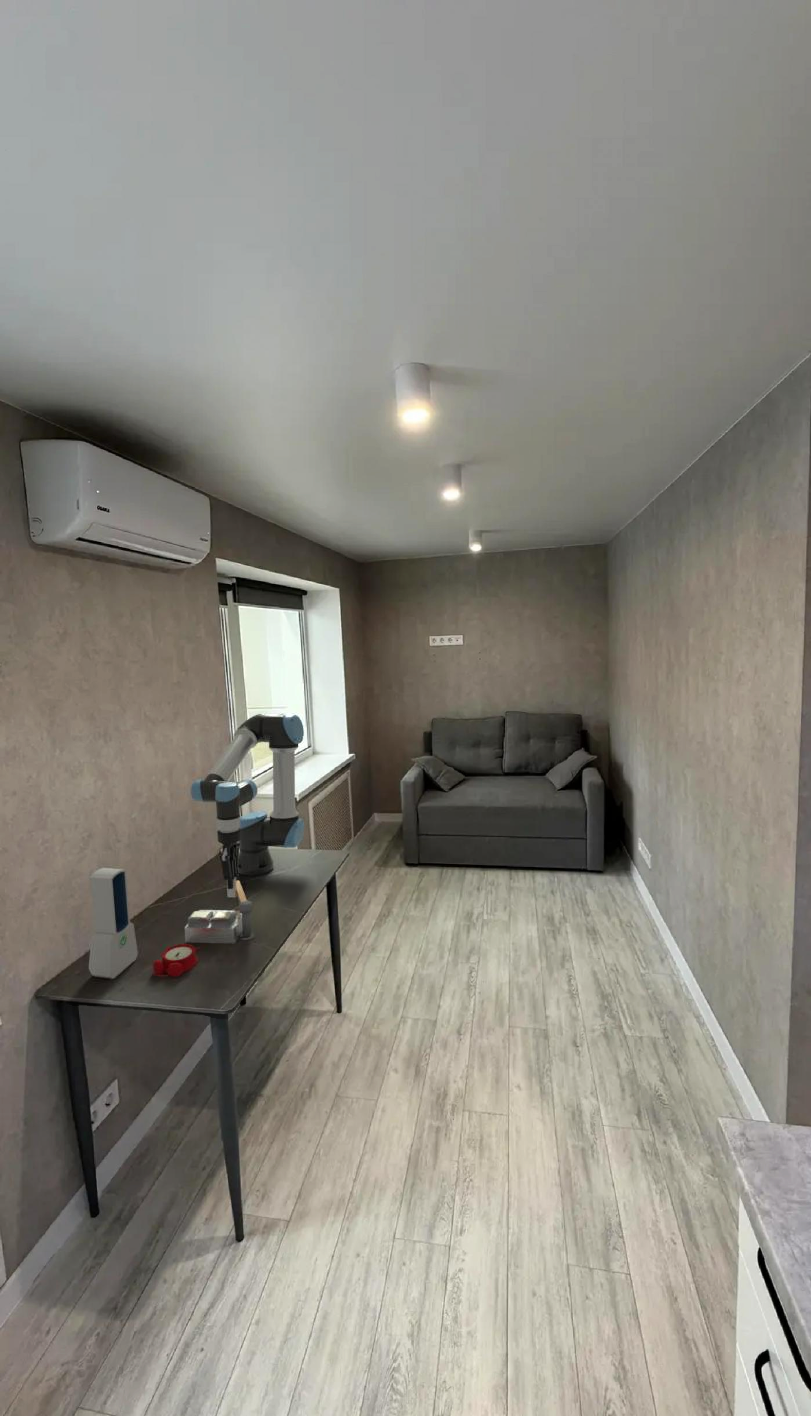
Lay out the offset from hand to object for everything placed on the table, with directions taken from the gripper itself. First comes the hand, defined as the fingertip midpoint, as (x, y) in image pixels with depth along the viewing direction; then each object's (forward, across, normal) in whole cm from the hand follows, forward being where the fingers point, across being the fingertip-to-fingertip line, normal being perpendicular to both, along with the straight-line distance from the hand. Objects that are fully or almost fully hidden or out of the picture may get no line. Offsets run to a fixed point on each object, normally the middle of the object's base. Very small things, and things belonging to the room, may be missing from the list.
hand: (232, 896), depth 205 cm
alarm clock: (+9, +29, -7) cm, 31 cm away
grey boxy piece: (+9, +9, 0) cm, 12 cm away
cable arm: (+8, +2, +4) cm, 9 cm away
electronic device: (+9, +30, -25) cm, 40 cm away
